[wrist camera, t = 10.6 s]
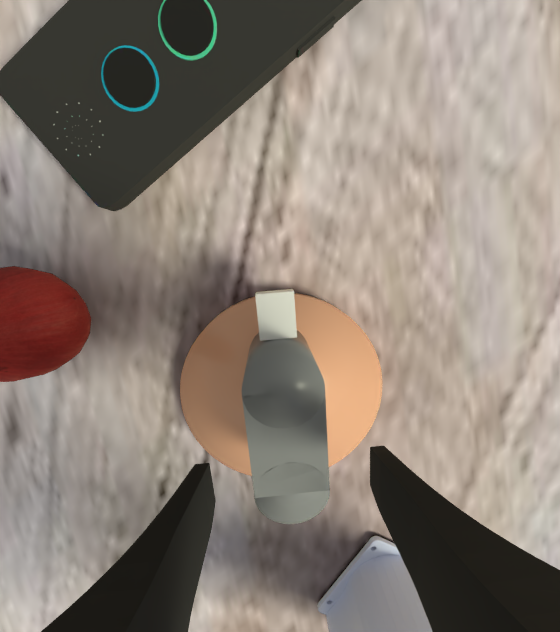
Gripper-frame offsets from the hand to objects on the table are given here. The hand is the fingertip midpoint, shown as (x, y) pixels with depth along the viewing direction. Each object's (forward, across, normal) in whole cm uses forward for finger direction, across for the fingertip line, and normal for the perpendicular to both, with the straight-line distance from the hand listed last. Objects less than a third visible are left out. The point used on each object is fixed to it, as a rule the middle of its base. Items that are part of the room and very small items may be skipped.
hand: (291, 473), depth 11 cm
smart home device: (+8, +3, -21) cm, 23 cm away
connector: (+7, 0, -1) cm, 7 cm away
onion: (+8, +14, -7) cm, 17 cm away
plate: (+8, 0, 0) cm, 8 cm away
